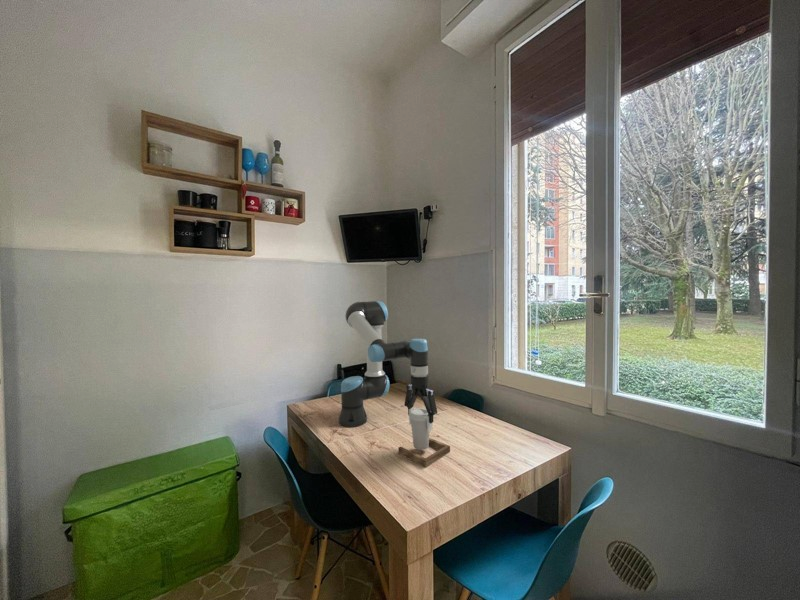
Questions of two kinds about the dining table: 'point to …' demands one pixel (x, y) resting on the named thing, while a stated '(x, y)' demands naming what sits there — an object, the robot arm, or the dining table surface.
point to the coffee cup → (419, 428)
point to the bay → (430, 459)
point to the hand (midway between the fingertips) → (420, 426)
